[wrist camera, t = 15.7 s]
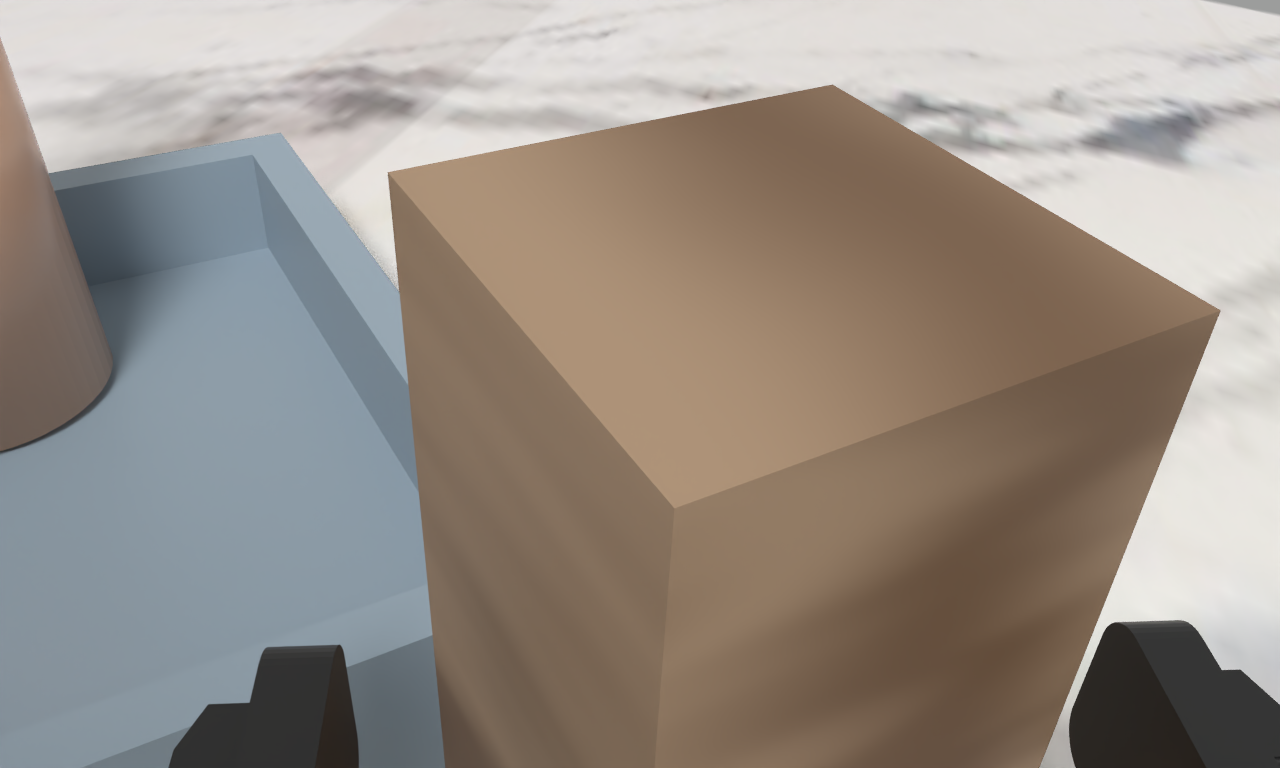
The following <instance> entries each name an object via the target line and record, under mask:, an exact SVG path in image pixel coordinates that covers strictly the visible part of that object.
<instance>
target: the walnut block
mask: <svg viewBox="0 0 1280 768" xmlns="http://www.w3.org/2000/svg"><path fill="white" fill-rule="evenodd" d="M388 179H389V189H390V200H391V210H392V220H393V231H394V241H395V251H396V262H397V272H398V282H399V293H400V303H401V314H402V324H403V334H404V345H405V355H406V365H407V376H408V386H409V396H410V407H411V417H412V428H413V438H414V448H415V459H416V469H417V479H418V490H419V500H420V511H421V521H422V531H423V542H424V552H425V562H426V573H427V583H428V593H429V604H430V614H431V625H432V635H433V645H434V656H435V666H436V676H437V687H438V697H439V707H440V718H441V728H442V739H443V749H444V759H445V768H1039V767H1040V764H1041V762H1042V759H1043V757H1044V754H1045V752H1046V749H1047V747H1048V744H1049V742H1050V739H1051V737H1052V734H1053V732H1054V729H1055V727H1056V724H1057V722H1058V719H1059V717H1060V714H1061V712H1062V709H1063V706H1064V704H1065V701H1066V699H1067V696H1068V694H1069V691H1070V689H1071V686H1072V684H1073V681H1074V679H1075V676H1076V674H1077V671H1078V669H1079V666H1080V664H1081V661H1082V659H1083V656H1084V654H1085V651H1086V649H1087V646H1088V643H1089V641H1090V638H1091V636H1092V633H1093V631H1094V628H1095V626H1096V623H1097V621H1098V618H1099V616H1100V613H1101V611H1102V608H1103V606H1104V603H1105V601H1106V598H1107V596H1108V593H1109V591H1110V588H1111V586H1112V583H1113V580H1114V578H1115V575H1116V573H1117V570H1118V568H1119V565H1120V563H1121V560H1122V558H1123V555H1124V553H1125V550H1126V548H1127V545H1128V543H1129V540H1130V538H1131V535H1132V533H1133V530H1134V528H1135V525H1136V523H1137V520H1138V518H1139V515H1140V512H1141V510H1142V507H1143V505H1144V502H1145V500H1146V497H1147V495H1148V492H1149V490H1150V487H1151V485H1152V482H1153V480H1154V477H1155V475H1156V472H1157V470H1158V467H1159V465H1160V462H1161V460H1162V457H1163V455H1164V452H1165V449H1166V447H1167V444H1168V442H1169V439H1170V437H1171V434H1172V432H1173V429H1174V427H1175V424H1176V422H1177V419H1178V417H1179V414H1180V412H1181V409H1182V407H1183V404H1184V402H1185V399H1186V397H1187V394H1188V392H1189V389H1190V386H1191V384H1192V381H1193V379H1194V376H1195V374H1196V371H1197V369H1198V366H1199V364H1200V361H1201V359H1202V356H1203V354H1204V351H1205V349H1206V346H1207V344H1208V341H1209V339H1210V336H1211V334H1212V331H1213V329H1214V326H1215V323H1216V321H1217V318H1218V316H1219V313H1220V311H1221V310H1219V309H1217V308H1215V307H1214V306H1212V305H1210V304H1208V303H1207V302H1205V301H1203V300H1202V299H1200V298H1198V297H1196V296H1195V295H1193V294H1191V293H1190V292H1188V291H1186V290H1184V289H1183V288H1181V287H1179V286H1178V285H1176V284H1174V283H1172V282H1171V281H1169V280H1167V279H1166V278H1164V277H1162V276H1160V275H1159V274H1157V273H1155V272H1153V271H1152V270H1150V269H1148V268H1147V267H1145V266H1143V265H1141V264H1140V263H1138V262H1136V261H1135V260H1133V259H1131V258H1129V257H1128V256H1126V255H1124V254H1123V253H1121V252H1119V251H1117V250H1116V249H1114V248H1112V247H1111V246H1109V245H1107V244H1105V243H1104V242H1102V241H1100V240H1098V239H1097V238H1095V237H1093V236H1092V235H1090V234H1088V233H1086V232H1085V231H1083V230H1081V229H1080V228H1078V227H1076V226H1074V225H1073V224H1071V223H1069V222H1068V221H1066V220H1064V219H1062V218H1061V217H1059V216H1057V215H1056V214H1054V213H1052V212H1050V211H1049V210H1047V209H1045V208H1043V207H1042V206H1040V205H1038V204H1037V203H1035V202H1033V201H1031V200H1030V199H1028V198H1026V197H1025V196H1023V195H1021V194H1019V193H1018V192H1016V191H1014V190H1013V189H1011V188H1009V187H1007V186H1006V185H1004V184H1002V183H1001V182H999V181H997V180H995V179H994V178H992V177H990V176H988V175H987V174H985V173H983V172H982V171H980V170H978V169H976V168H975V167H973V166H971V165H970V164H968V163H966V162H964V161H963V160H961V159H959V158H958V157H956V156H954V155H952V154H951V153H949V152H947V151H946V150H944V149H942V148H940V147H939V146H937V145H935V144H933V143H932V142H930V141H928V140H927V139H925V138H923V137H921V136H920V135H918V134H916V133H915V132H913V131H911V130H909V129H908V128H906V127H904V126H903V125H901V124H899V123H897V122H896V121H894V120H892V119H891V118H889V117H887V116H885V115H884V114H882V113H880V112H878V111H877V110H875V109H873V108H872V107H870V106H868V105H866V104H865V103H863V102H861V101H860V100H858V99H856V98H854V97H853V96H851V95H849V94H848V93H846V92H844V91H842V90H841V89H839V88H837V87H836V86H834V85H828V86H823V87H818V88H813V89H808V90H803V91H798V92H793V93H788V94H783V95H778V96H773V97H768V98H763V99H758V100H752V101H747V102H742V103H737V104H732V105H727V106H722V107H717V108H712V109H707V110H702V111H697V112H692V113H687V114H682V115H676V116H671V117H666V118H661V119H656V120H651V121H646V122H641V123H636V124H631V125H626V126H621V127H616V128H611V129H606V130H600V131H595V132H590V133H585V134H580V135H575V136H570V137H565V138H560V139H555V140H550V141H545V142H540V143H535V144H530V145H525V146H519V147H514V148H509V149H504V150H499V151H494V152H489V153H484V154H479V155H474V156H469V157H464V158H459V159H454V160H449V161H443V162H438V163H433V164H428V165H423V166H418V167H413V168H408V169H403V170H398V171H393V172H388Z"/></svg>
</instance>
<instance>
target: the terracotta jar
mask: <svg viewBox="0 0 1280 768" xmlns="http://www.w3.org/2000/svg"><path fill="white" fill-rule="evenodd" d="M112 367H113V355H112V352H111V349H110V346H109V343H108V341H107V338H106V335H105V332H104V329H103V326H102V324H101V321H100V318H99V315H98V312H97V309H96V307H95V304H94V301H93V298H92V295H91V293H90V290H89V287H88V284H87V281H86V278H85V276H84V273H83V270H82V267H81V264H80V261H79V259H78V256H77V253H76V250H75V247H74V244H73V242H72V239H71V236H70V233H69V230H68V227H67V225H66V222H65V219H64V216H63V213H62V211H61V208H60V205H59V202H58V199H57V196H56V194H55V191H54V188H53V185H52V182H51V179H50V177H49V174H48V171H47V168H46V165H45V162H44V160H43V157H42V154H41V151H40V148H39V145H38V143H37V140H36V137H35V134H34V131H33V129H32V126H31V123H30V120H29V117H28V114H27V112H26V109H25V106H24V103H23V100H22V97H21V95H20V92H19V89H18V86H17V83H16V80H15V78H14V75H13V72H12V69H11V66H10V63H9V61H8V58H7V55H6V52H5V49H4V47H3V44H2V41H1V38H0V451H3V450H6V449H9V448H13V447H16V446H18V445H21V444H24V443H26V442H29V441H31V440H34V439H36V438H38V437H40V436H42V435H45V434H47V433H48V432H50V431H52V430H54V429H56V428H58V427H60V426H61V425H63V424H64V423H66V422H67V421H69V420H70V419H72V418H73V417H75V416H76V415H77V414H79V413H80V412H81V411H82V410H84V409H85V408H86V407H87V406H88V405H89V404H90V403H91V402H92V401H93V400H94V399H95V398H96V397H97V396H98V395H99V393H100V392H101V391H102V390H103V388H104V386H105V385H106V383H107V382H108V379H109V377H110V375H111V372H112Z"/></svg>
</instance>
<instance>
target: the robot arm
mask: <svg viewBox="0 0 1280 768" xmlns="http://www.w3.org/2000/svg"><path fill="white" fill-rule="evenodd" d="M1069 738H1070V747H1071V753H1072V757H1073V761H1074V764H1075V767H1076V768H1280V705H1279V704H1278V703H1277V702H1276V701H1275V700H1274V699H1273V698H1271V697H1270V696H1269V695H1268V694H1267V693H1266V692H1265V691H1264V690H1263V689H1261V688H1260V687H1259V686H1258V685H1257V684H1256V683H1255V682H1254V681H1252V680H1251V679H1250V678H1249V677H1248V676H1247V675H1246V674H1245V673H1243V672H1242V671H1241V670H1221V668H1220V667H1219V665H1218V663H1217V662H1216V660H1215V658H1214V657H1213V655H1212V653H1211V652H1210V650H1209V648H1208V647H1207V645H1206V643H1205V642H1204V640H1203V638H1202V637H1201V635H1200V634H1199V632H1198V631H1197V630H1196V629H1195V628H1194V627H1193V626H1192V625H1191V624H1189V623H1188V622H1185V621H1181V620H1174V621H1143V622H1115V623H1112V624H1110V625H1109V626H1108V627H1107V628H1106V629H1105V631H1104V633H1103V635H1102V638H1101V640H1100V642H1099V645H1098V647H1097V650H1096V652H1095V655H1094V657H1093V660H1092V662H1091V664H1090V667H1089V669H1088V672H1087V674H1086V677H1085V679H1084V681H1083V684H1082V686H1081V689H1080V691H1079V694H1078V696H1077V699H1076V701H1075V703H1074V706H1073V708H1072V712H1071V716H1070V723H1069ZM168 768H359V748H358V736H357V729H356V723H355V717H354V711H353V705H352V698H351V692H350V686H349V680H348V674H347V668H346V662H345V656H344V651H343V648H342V646H341V645H312V646H281V647H266V648H265V649H264V651H263V653H262V655H261V658H260V661H259V664H258V668H257V673H256V677H255V681H254V686H253V690H252V694H251V699H250V703H226V704H208V705H207V706H206V708H205V709H204V710H203V712H202V713H201V714H200V716H199V717H198V718H197V720H196V721H195V722H194V724H193V725H192V726H191V727H190V729H189V730H188V731H187V733H186V734H185V735H184V737H183V738H182V739H181V741H180V742H179V743H178V745H177V746H176V747H175V749H174V750H173V753H172V757H171V760H170V764H169V767H168Z"/></svg>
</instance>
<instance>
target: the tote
mask: <svg viewBox="0 0 1280 768" xmlns="http://www.w3.org/2000/svg"><path fill="white" fill-rule="evenodd" d="M48 174H49V177H50V179H51V182H52V185H53V188H54V191H55V194H56V196H57V199H58V202H59V205H60V208H61V211H62V213H63V216H64V219H65V222H66V225H67V227H68V230H69V233H70V236H71V239H72V242H73V244H74V247H75V250H76V253H77V256H78V259H79V261H80V264H81V267H82V270H83V273H84V276H85V278H86V281H87V284H88V287H89V290H90V293H91V295H92V298H93V301H94V304H95V307H96V309H97V312H98V315H99V318H100V321H101V324H102V326H103V329H104V332H105V335H106V338H107V341H108V343H109V346H110V349H111V352H112V355H113V367H112V372H111V375H110V377H109V379H108V382H107V383H106V385H105V386H104V388H103V390H102V391H101V392H100V393H99V395H98V396H97V397H96V398H95V399H94V400H93V401H92V402H91V403H90V404H89V405H88V406H87V407H86V408H85V409H84V410H82V411H81V412H80V413H79V414H77V415H76V416H75V417H73V418H72V419H70V420H69V421H67V422H66V423H64V424H63V425H61V426H60V427H58V428H56V429H54V430H52V431H50V432H48V433H47V434H45V435H42V436H40V437H38V438H36V439H34V440H31V441H29V442H26V443H24V444H21V445H18V446H16V447H13V448H9V449H6V450H3V451H0V768H168V767H169V764H170V760H171V757H172V753H173V750H174V749H175V747H176V746H177V745H178V743H179V742H180V741H181V739H182V738H183V737H184V735H185V734H186V733H187V731H188V730H189V729H190V727H191V726H192V725H193V724H194V722H195V721H196V720H197V718H198V717H199V716H200V714H201V713H202V712H203V710H204V709H205V708H206V706H207V705H208V704H226V703H250V699H251V694H252V690H253V686H254V681H255V677H256V673H257V668H258V664H259V661H260V658H261V655H262V653H263V651H264V649H265V648H266V647H281V646H312V645H341V646H342V648H343V651H344V656H345V662H346V668H347V674H348V680H349V686H350V692H351V698H352V705H353V711H354V717H355V723H356V729H357V736H358V748H359V768H445V759H444V749H443V739H442V728H441V718H440V707H439V697H438V687H437V676H436V666H435V656H434V645H433V635H432V625H431V614H430V604H429V593H428V583H427V573H426V562H425V552H424V542H423V531H422V521H421V511H420V500H419V490H418V479H417V469H416V459H415V448H414V438H413V428H412V417H411V407H410V396H409V386H408V376H407V365H406V355H405V345H404V334H403V324H402V314H401V303H400V293H399V292H398V290H397V289H396V288H395V286H394V285H393V284H392V282H391V281H390V280H389V278H388V277H387V276H386V274H385V273H384V271H383V270H382V269H381V267H380V266H379V265H378V263H377V262H376V261H375V259H374V258H373V257H372V255H371V254H370V253H369V251H368V250H367V249H366V247H365V246H364V244H363V243H362V242H361V240H360V239H359V238H358V236H357V235H356V234H355V232H354V231H353V230H352V228H351V227H350V226H349V224H348V223H347V222H346V220H345V219H344V217H343V216H342V215H341V213H340V212H339V211H338V209H337V208H336V207H335V205H334V204H333V203H332V201H331V200H330V199H329V197H328V196H327V195H326V193H325V192H324V190H323V189H322V188H321V186H320V185H319V184H318V182H317V181H316V180H315V178H314V177H313V176H312V174H311V173H310V172H309V170H308V169H307V168H306V166H305V165H304V163H303V162H302V161H301V159H300V158H299V157H298V155H297V154H296V153H295V151H294V150H293V149H292V147H291V146H290V145H289V143H288V142H287V141H286V139H285V138H284V136H283V135H282V134H281V133H276V134H271V135H265V136H259V137H254V138H248V139H242V140H237V141H231V142H225V143H219V144H214V145H208V146H202V147H197V148H191V149H185V150H180V151H174V152H168V153H162V154H157V155H151V156H145V157H140V158H134V159H128V160H123V161H117V162H111V163H105V164H100V165H94V166H88V167H83V168H77V169H71V170H66V171H60V172H54V173H48Z"/></svg>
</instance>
